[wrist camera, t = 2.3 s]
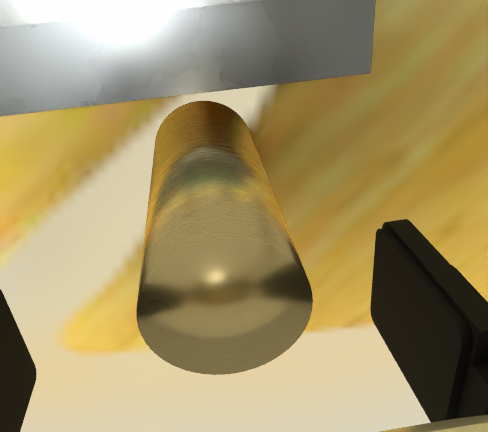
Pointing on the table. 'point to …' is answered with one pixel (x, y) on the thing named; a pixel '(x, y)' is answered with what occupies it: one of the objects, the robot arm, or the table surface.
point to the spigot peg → (217, 250)
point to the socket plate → (172, 48)
